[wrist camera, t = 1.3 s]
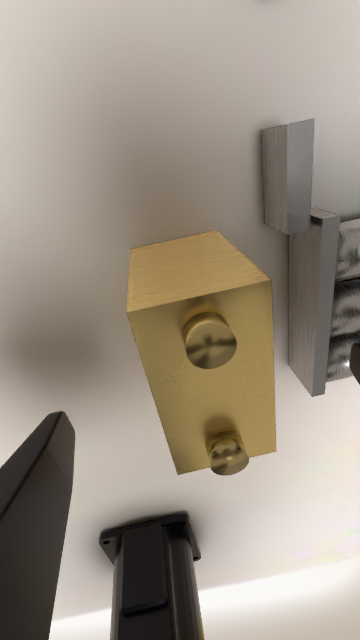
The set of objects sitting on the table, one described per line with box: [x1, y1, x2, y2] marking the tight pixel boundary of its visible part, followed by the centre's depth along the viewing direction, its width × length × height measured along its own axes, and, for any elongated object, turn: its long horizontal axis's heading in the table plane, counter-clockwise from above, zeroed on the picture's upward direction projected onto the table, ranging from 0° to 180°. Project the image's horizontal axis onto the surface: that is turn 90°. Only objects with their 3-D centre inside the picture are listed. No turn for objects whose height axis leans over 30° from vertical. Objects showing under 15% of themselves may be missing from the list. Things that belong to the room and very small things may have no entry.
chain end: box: [261, 119, 360, 397], centre depth 12 cm, size 11×7×2 cm, turn 11°
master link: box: [126, 230, 276, 475], centre depth 11 cm, size 6×4×6 cm, turn 11°
